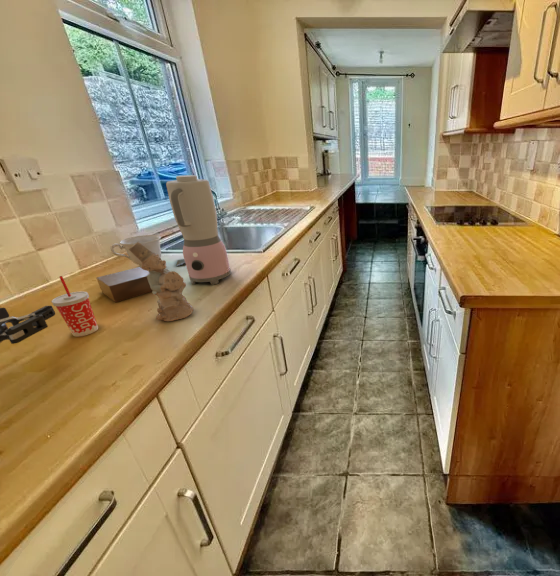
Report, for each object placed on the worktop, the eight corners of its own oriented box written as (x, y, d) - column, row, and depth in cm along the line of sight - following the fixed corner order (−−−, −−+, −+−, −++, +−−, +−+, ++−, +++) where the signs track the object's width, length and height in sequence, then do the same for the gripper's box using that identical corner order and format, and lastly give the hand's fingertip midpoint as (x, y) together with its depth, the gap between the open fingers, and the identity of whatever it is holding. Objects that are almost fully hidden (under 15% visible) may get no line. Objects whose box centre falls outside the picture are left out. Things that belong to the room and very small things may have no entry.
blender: (202, 271, 110) (177, 174, 97) (237, 271, 111) (217, 174, 97) (176, 290, 96) (143, 179, 83) (217, 289, 96) (190, 179, 83)
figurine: (146, 322, 79) (118, 244, 70) (172, 306, 86) (149, 234, 78) (179, 324, 78) (154, 245, 69) (202, 308, 85) (182, 235, 77)
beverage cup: (68, 341, 71) (40, 284, 65) (68, 330, 75) (41, 276, 69) (103, 331, 75) (79, 276, 69) (101, 321, 79) (78, 269, 73)
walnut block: (115, 302, 89) (109, 286, 87) (102, 293, 95) (96, 277, 93) (159, 289, 97) (154, 274, 95) (144, 281, 103) (139, 266, 101)
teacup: (117, 267, 115) (107, 240, 110) (165, 258, 124) (157, 233, 120) (120, 276, 106) (110, 248, 102) (171, 266, 116) (163, 239, 111)
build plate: (176, 266, 115) (172, 254, 113) (178, 261, 121) (174, 249, 119) (214, 261, 120) (211, 249, 118) (214, 255, 126) (211, 244, 124)
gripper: (-37, 336, 46) (59, 291, 61) (-144, 342, 45) (-21, 295, 60) (-10, 378, 49) (74, 325, 64) (-111, 384, 48) (-1, 329, 63)
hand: (28, 310), depth 62 cm, fingers open, 8 cm apart
